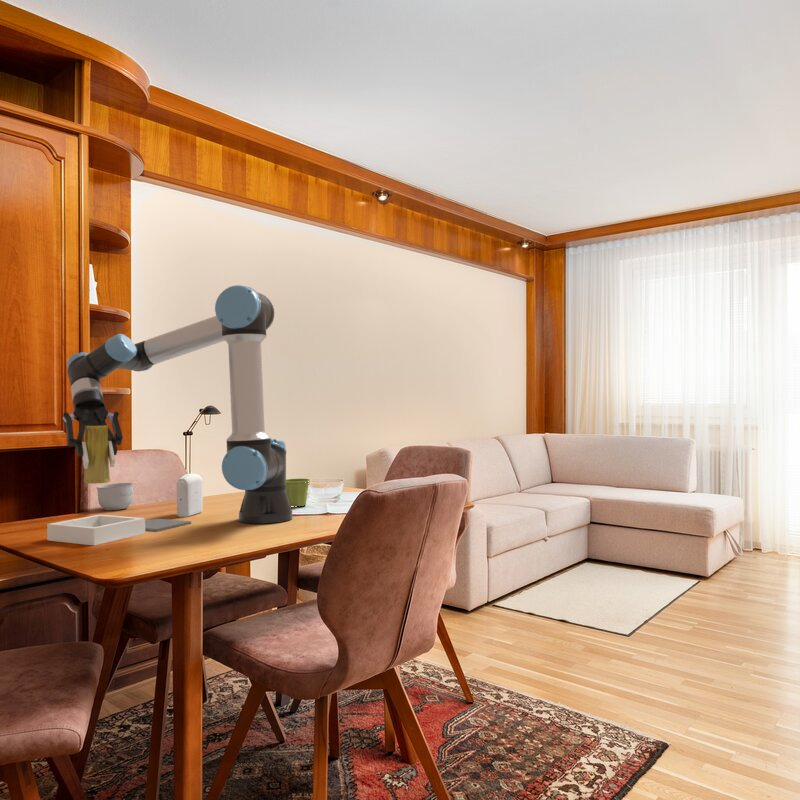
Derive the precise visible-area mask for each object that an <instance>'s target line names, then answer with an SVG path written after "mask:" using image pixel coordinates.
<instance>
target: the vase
mask: <svg viewBox="0 0 800 800" xmlns="http://www.w3.org/2000/svg"><path fill="white" fill-rule="evenodd" d="M108 427H109V425H107V426H85V433H84V439H85V441H84V442H86V448H87V454H88V460H89V463H88V469H84V479H83V483H84V484H88V485H89V484H93V485H94V484H105V483H107V484H108V483H111V478H110V462H109V456H108Z"/></svg>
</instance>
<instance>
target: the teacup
mask: <svg viewBox="0 0 800 800" xmlns="http://www.w3.org/2000/svg"><path fill="white" fill-rule="evenodd" d="M96 489H97V499H98V500H97V501H98V504H99V506H100V507H101V508H102V509H104V510H105V511H118V510H124V509H125V510H126V509H127V508H129V507H130V505H131V504H132V503H133V502H134V483H133V482H119V483H107V484H103V485H102V484H101V485H98V486H97V487H96Z"/></svg>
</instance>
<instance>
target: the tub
mask: <svg viewBox="0 0 800 800" xmlns="http://www.w3.org/2000/svg"><path fill="white" fill-rule="evenodd" d="M145 521H146V518H145V517H135V516H121V515H111V514H110V515H109V514H95V515H90V516H89V515H88V516H83V517H79V518H73V519H68V520H61V521H57V522H51V523H47V524H46V525H47V529H46V530H47V531H46V532H47V533H46V535H47V538H46V540H47V541H50V542H51V541H52V542H59V543H67V544H77V545H78V544H79V545H87V546H98V545H102V544H106V543H111V542H116V541H120V540H125V539H128V538H133V537H138V536H141V535H145V534H146V530H145Z"/></svg>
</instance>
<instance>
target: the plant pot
mask: <svg viewBox="0 0 800 800" xmlns="http://www.w3.org/2000/svg"><path fill="white" fill-rule="evenodd" d="M310 480H311V479H310V478H286V494H287V497H288V500H289V503H290V506H299V507H300V506H304V505H306V506H307V502H308V501H307V499H308V492H307V491H309V486H308V485H310V482H311V481H310ZM308 481H309V482H308ZM305 482H306V483H305ZM308 483H309V484H308ZM304 507H305V506H304Z"/></svg>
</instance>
